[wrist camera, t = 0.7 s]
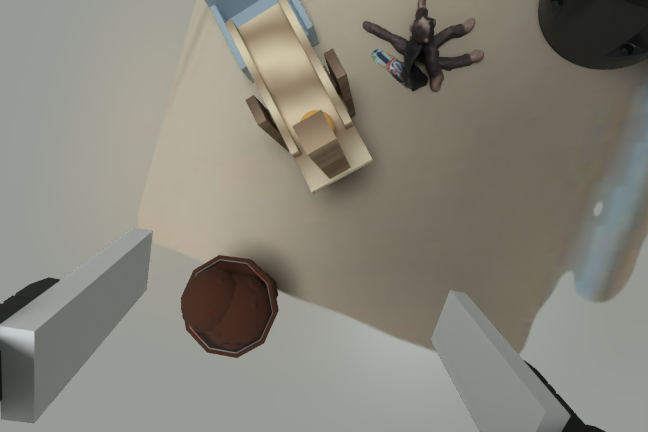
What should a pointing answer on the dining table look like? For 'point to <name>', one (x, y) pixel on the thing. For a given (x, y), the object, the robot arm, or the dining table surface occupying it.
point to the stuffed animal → (422, 51)
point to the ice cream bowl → (229, 305)
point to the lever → (299, 96)
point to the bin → (245, 4)
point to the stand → (338, 82)
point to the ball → (325, 116)
